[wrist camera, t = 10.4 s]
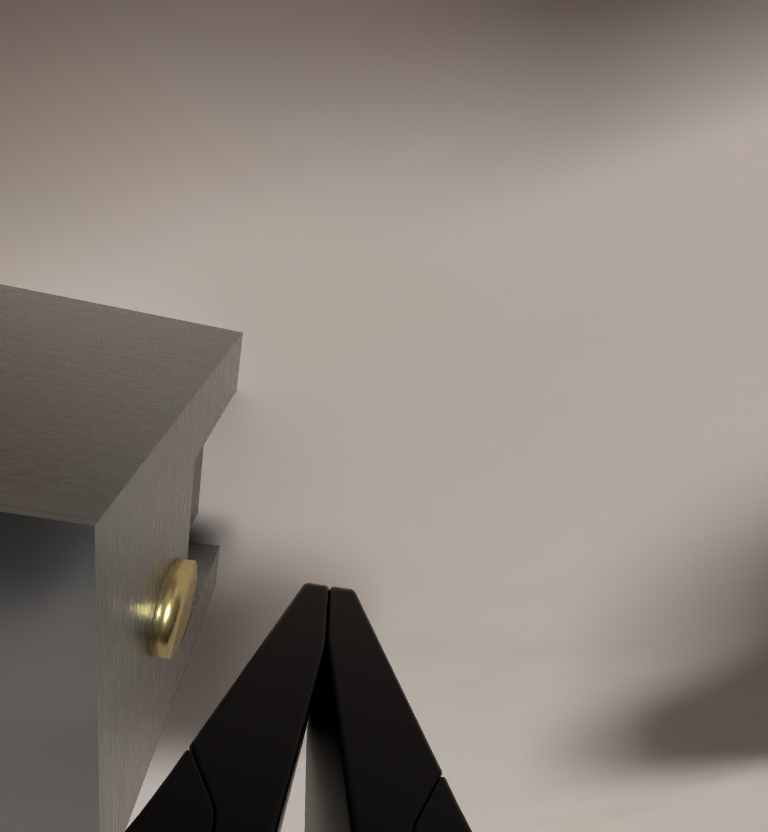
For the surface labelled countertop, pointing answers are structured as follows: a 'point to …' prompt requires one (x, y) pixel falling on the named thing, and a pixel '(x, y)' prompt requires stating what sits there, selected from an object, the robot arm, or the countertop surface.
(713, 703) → the countertop surface
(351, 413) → the countertop surface
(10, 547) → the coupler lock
